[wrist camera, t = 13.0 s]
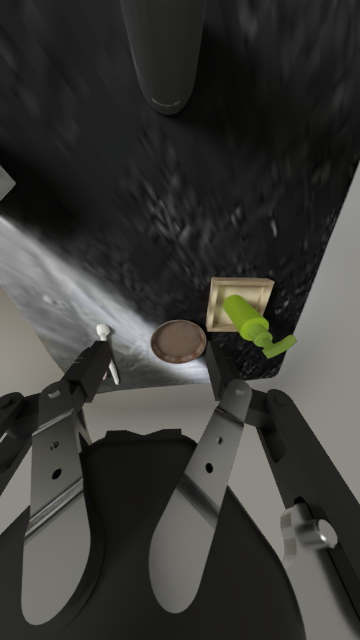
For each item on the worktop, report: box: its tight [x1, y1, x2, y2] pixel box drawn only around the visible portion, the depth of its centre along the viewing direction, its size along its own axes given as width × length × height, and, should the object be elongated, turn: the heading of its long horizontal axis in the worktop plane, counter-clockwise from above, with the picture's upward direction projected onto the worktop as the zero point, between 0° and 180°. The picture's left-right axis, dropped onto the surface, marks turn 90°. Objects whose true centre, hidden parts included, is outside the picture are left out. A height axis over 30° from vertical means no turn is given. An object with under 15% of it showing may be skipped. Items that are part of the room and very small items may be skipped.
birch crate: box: [206, 277, 274, 331], centre depth 42 cm, size 15×15×4 cm
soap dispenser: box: [223, 295, 297, 358], centre depth 34 cm, size 6×7×20 cm
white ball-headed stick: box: [96, 324, 119, 384], centre depth 51 cm, size 28×4×3 cm, turn 179°
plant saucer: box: [150, 320, 206, 364], centre depth 48 cm, size 18×18×3 cm
